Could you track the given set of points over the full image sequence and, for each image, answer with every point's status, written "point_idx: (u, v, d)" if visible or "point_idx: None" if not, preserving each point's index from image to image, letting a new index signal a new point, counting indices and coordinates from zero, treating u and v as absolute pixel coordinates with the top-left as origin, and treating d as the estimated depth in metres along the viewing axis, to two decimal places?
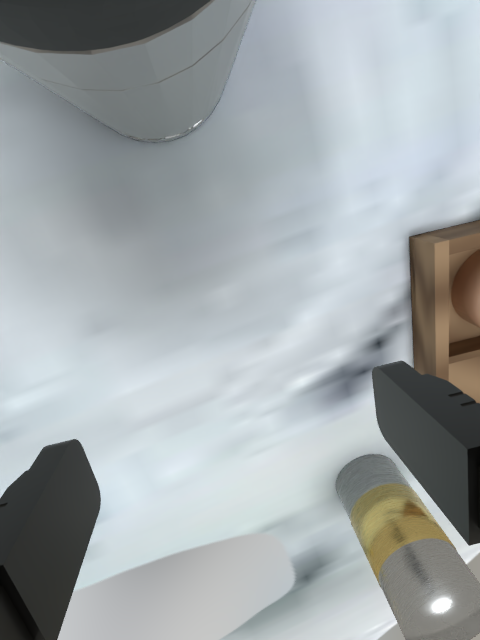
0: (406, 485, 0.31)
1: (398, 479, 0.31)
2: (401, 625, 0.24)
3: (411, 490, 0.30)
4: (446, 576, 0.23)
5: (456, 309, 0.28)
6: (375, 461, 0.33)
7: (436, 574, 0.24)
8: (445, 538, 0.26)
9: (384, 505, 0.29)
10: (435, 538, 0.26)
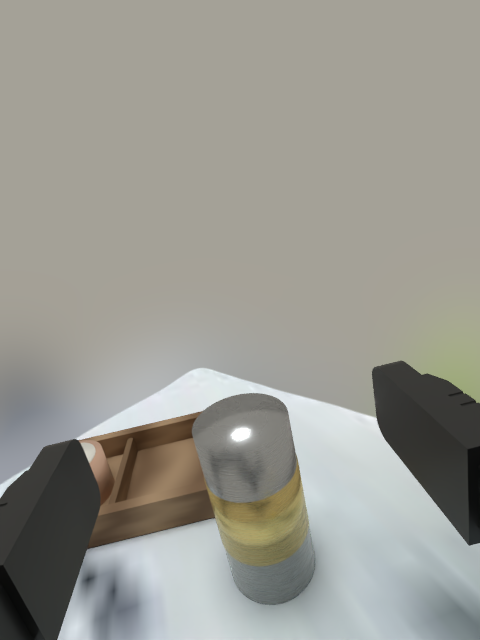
0: None
1: None
2: (241, 457, 0.20)
3: None
4: None
5: None
6: None
7: None
8: None
9: (217, 522, 0.24)
10: None
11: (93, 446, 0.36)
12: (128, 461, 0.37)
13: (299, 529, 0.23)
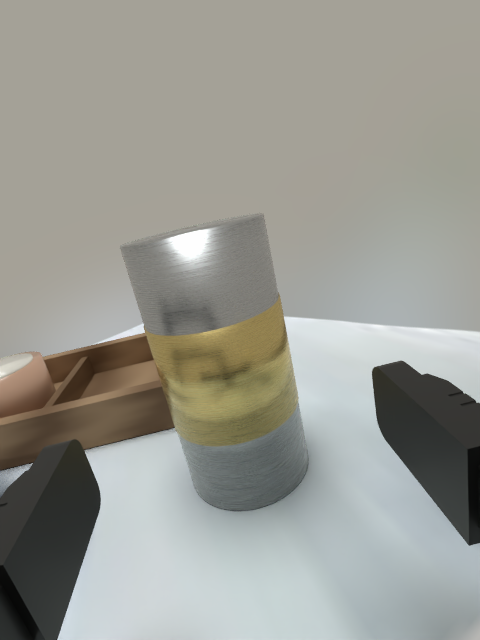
0: None
1: None
2: (186, 247, 0.13)
3: None
4: None
5: None
6: None
7: None
8: None
9: (166, 394, 0.17)
10: None
11: (31, 355, 0.29)
12: (77, 377, 0.30)
13: (283, 394, 0.16)
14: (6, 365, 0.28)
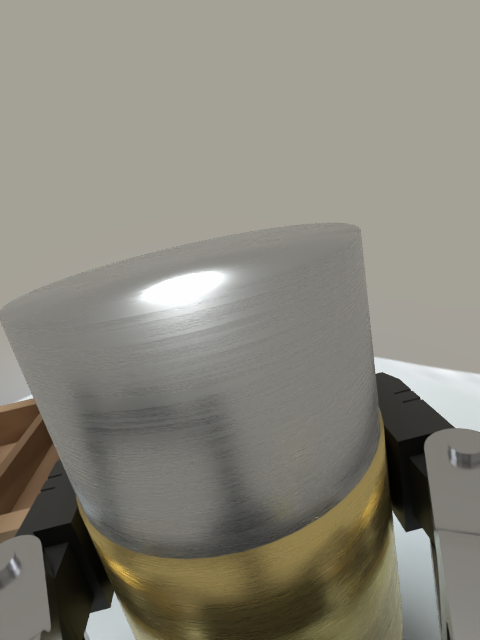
0: None
1: None
2: (160, 338, 0.04)
3: None
4: None
5: None
6: None
7: None
8: None
9: None
10: None
11: None
12: (29, 446, 0.21)
13: (390, 633, 0.07)
14: None
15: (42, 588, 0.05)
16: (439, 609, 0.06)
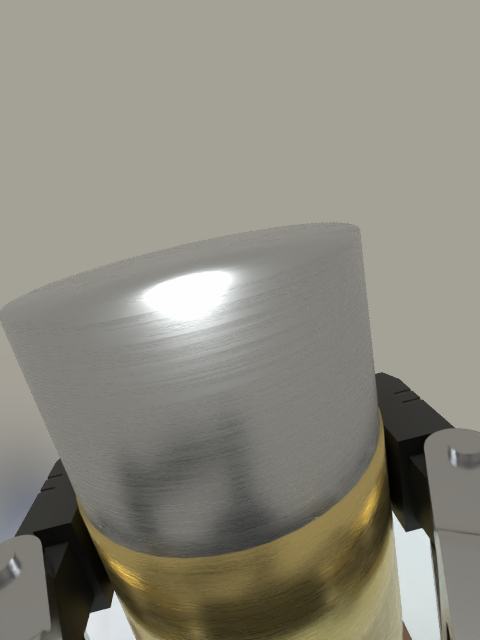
0: None
1: None
2: (159, 338, 0.04)
3: None
4: None
5: None
6: None
7: None
8: None
9: None
10: None
11: None
12: None
13: (389, 632, 0.07)
14: None
15: (42, 588, 0.05)
16: (439, 609, 0.06)
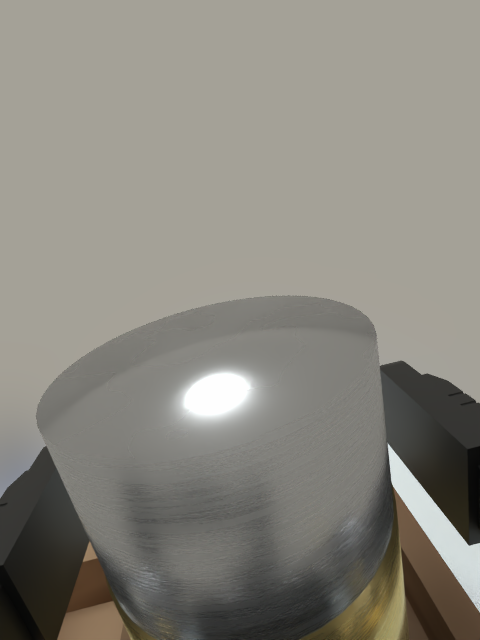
0: None
1: None
2: (198, 477, 0.04)
3: None
4: None
5: None
6: None
7: None
8: None
9: None
10: None
11: None
12: None
13: None
14: None
15: None
16: None
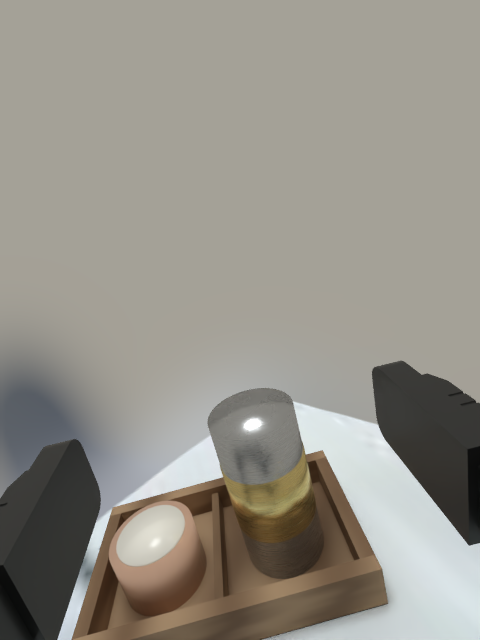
0: None
1: None
2: (253, 443, 0.23)
3: None
4: None
5: (179, 604, 0.26)
6: None
7: None
8: None
9: (233, 506, 0.27)
10: None
11: (179, 510, 0.29)
12: (220, 527, 0.30)
13: (307, 509, 0.26)
14: (161, 527, 0.28)
15: None
16: None
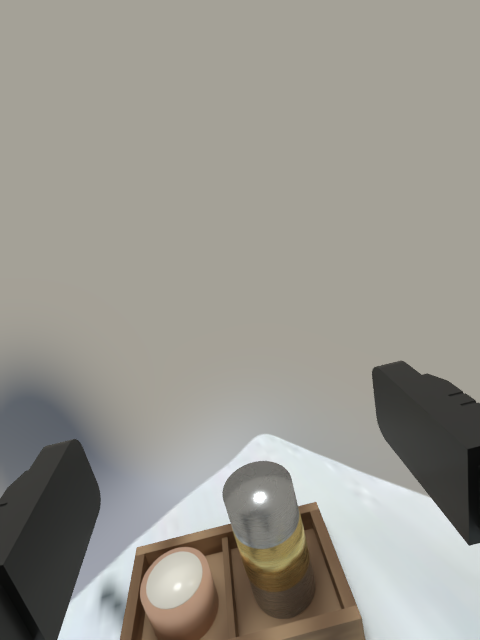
0: None
1: None
2: (261, 518, 0.29)
3: None
4: None
5: (197, 638, 0.32)
6: None
7: None
8: None
9: (242, 560, 0.33)
10: None
11: (197, 558, 0.35)
12: (230, 570, 0.36)
13: (303, 563, 0.32)
14: (183, 573, 0.34)
15: None
16: None
